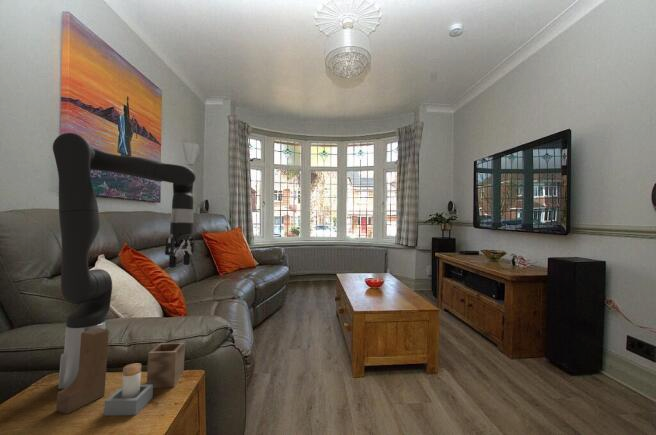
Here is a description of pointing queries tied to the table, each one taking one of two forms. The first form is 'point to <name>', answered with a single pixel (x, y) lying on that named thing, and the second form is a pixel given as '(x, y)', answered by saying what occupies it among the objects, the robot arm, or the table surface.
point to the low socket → (128, 402)
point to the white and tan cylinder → (131, 380)
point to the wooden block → (87, 372)
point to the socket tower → (165, 364)
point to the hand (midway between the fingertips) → (179, 266)
